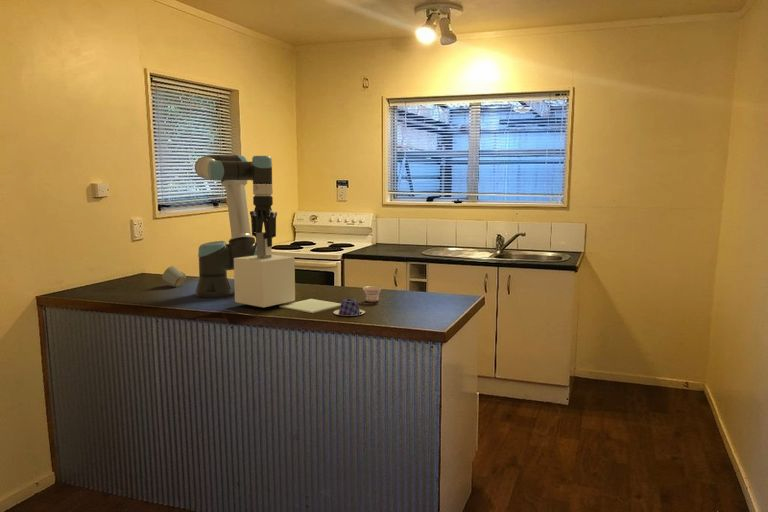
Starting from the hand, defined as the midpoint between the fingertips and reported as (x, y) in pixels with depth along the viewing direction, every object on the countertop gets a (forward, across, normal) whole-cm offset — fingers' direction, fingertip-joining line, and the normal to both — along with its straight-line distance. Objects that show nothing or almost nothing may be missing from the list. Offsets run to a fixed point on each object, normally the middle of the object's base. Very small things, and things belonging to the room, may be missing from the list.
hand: (264, 254), depth 237 cm
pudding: (+21, +36, +10) cm, 43 cm away
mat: (+21, +16, +10) cm, 28 cm away
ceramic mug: (+21, -67, +4) cm, 70 cm away
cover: (+19, 0, 0) cm, 19 cm away
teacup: (+21, +30, +31) cm, 48 cm away
